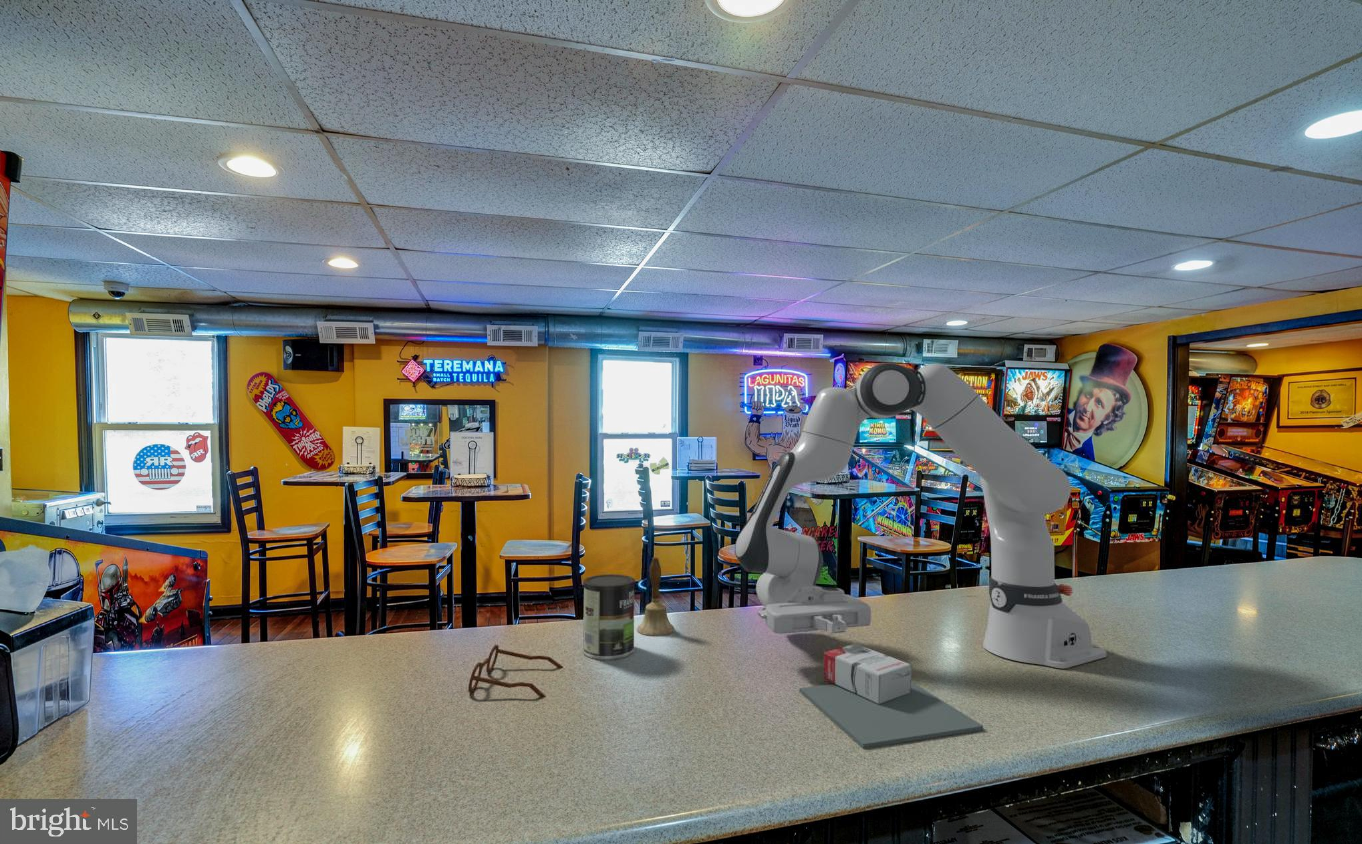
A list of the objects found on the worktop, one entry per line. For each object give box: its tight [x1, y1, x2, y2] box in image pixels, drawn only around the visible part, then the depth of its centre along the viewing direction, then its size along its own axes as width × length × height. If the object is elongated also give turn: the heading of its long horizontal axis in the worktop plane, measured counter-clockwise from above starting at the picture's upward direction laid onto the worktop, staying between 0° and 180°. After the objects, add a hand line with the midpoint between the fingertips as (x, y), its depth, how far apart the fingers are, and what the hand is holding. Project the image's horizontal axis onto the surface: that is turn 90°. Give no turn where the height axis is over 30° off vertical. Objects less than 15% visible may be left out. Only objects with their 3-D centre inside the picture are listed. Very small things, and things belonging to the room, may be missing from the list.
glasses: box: [467, 644, 564, 698], centre depth 105 cm, size 13×13×5 cm
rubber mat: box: [799, 681, 984, 749], centre depth 94 cm, size 20×19×1 cm
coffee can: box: [582, 573, 636, 661], centre depth 120 cm, size 10×10×14 cm
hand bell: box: [636, 557, 675, 637], centre depth 133 cm, size 8×8×16 cm
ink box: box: [823, 643, 912, 704], centre depth 101 cm, size 8×5×12 cm
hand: (839, 628), depth 106 cm, fingers closed
